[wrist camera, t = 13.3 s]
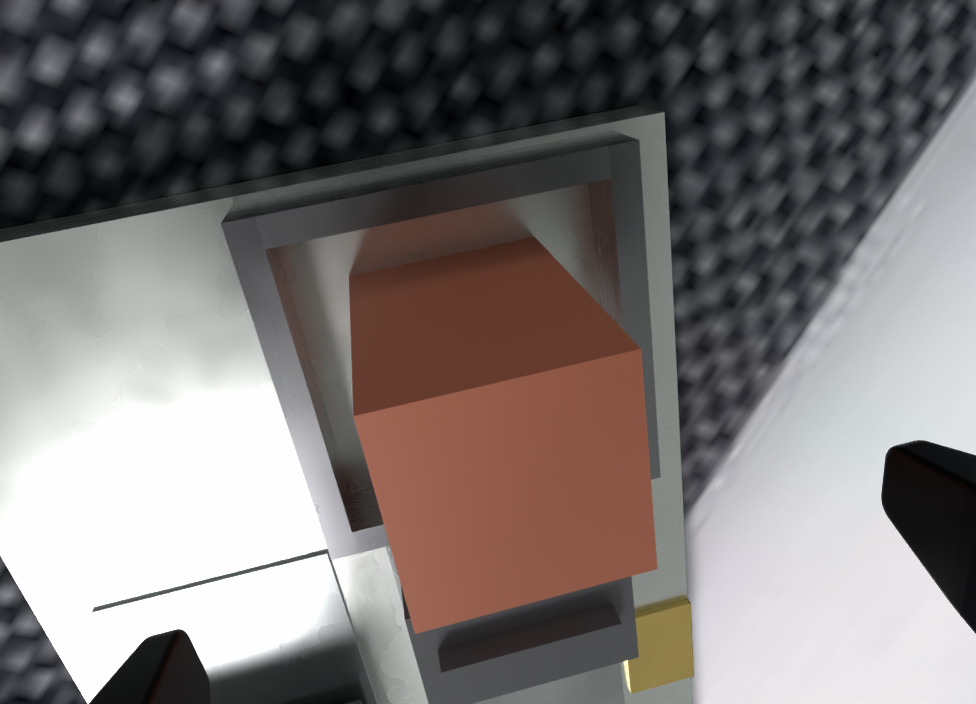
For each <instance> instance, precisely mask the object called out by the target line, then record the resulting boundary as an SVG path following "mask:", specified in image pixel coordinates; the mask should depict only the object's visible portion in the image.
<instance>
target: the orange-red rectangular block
mask: <svg viewBox="0 0 976 704" xmlns="http://www.w3.org/2000/svg"><path fill="white" fill-rule="evenodd" d="M349 300H350V330H351V360H352V391H353V417H354V420H355V424H356V427H357V431H358V435H359V438H360V442H361V445H362V449H363V452H364V456H365V459H366V463H367V466H368V470H369V473H370V477H371V480H372V484H373V487H374V491H375V495H376V498H377V502H378V505H379V509H380V512H381V516H382V519H383V523H384V526H385V530H386V533H387V537H388V540H389V544H390V547H391V551H392V555H393V558H394V562H395V565H396V569H397V572H398V576H399V579H400V583H401V586H402V590H403V593H404V597H405V600H406V604H407V607H408V611H409V615H410V618H411V622H412V625H413V629H414V632H415V634H417V633H421V632H425V631H428V630H432V629H436V628H440V627H443V626H447V625H451V624H455V623H458V622H462V621H466V620H469V619H473V618H477V617H481V616H484V615H488V614H492V613H496V612H499V611H503V610H507V609H510V608H514V607H518V606H522V605H525V604H529V603H533V602H537V601H540V600H544V599H548V598H552V597H555V596H559V595H563V594H566V593H570V592H574V591H578V590H581V589H585V588H589V587H593V586H596V585H600V584H604V583H608V582H611V581H615V580H619V579H622V578H626V577H630V576H634V575H637V574H641V573H645V572H649V571H652V570H656V569H657V555H656V541H655V528H654V514H653V501H652V487H651V474H650V460H649V446H648V433H647V419H646V406H645V392H644V379H643V365H642V351H641V348H640V347H639V346H638V345H637V344H636V343H635V342H634V341H633V340H632V339H631V338H630V336H629V335H628V334H627V333H626V332H625V331H624V330H623V329H622V328H621V327H620V326H619V325H618V324H617V323H616V322H615V321H614V320H613V319H612V318H611V317H610V315H609V314H608V313H607V312H606V311H605V310H604V309H603V308H602V307H601V306H600V305H599V304H598V303H597V302H596V301H595V300H594V299H593V298H592V297H591V295H590V294H589V293H588V292H587V291H586V290H585V289H584V288H583V287H582V286H581V285H580V284H579V283H578V282H577V281H576V280H575V279H574V278H573V277H572V276H571V274H570V273H569V272H568V271H567V270H566V269H565V268H564V267H563V266H562V265H561V264H560V263H559V262H558V261H557V260H556V259H555V258H554V257H553V256H552V254H551V253H550V252H549V251H548V250H547V249H546V248H545V247H544V246H543V245H542V244H541V243H540V242H539V241H538V240H537V239H536V238H535V237H531V238H526V239H521V240H516V241H512V242H507V243H502V244H498V245H493V246H488V247H484V248H479V249H474V250H470V251H465V252H460V253H456V254H451V255H446V256H442V257H437V258H432V259H428V260H423V261H418V262H414V263H409V264H404V265H400V266H395V267H390V268H386V269H381V270H376V271H372V272H367V273H362V274H358V275H353V276H349Z"/></svg>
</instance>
